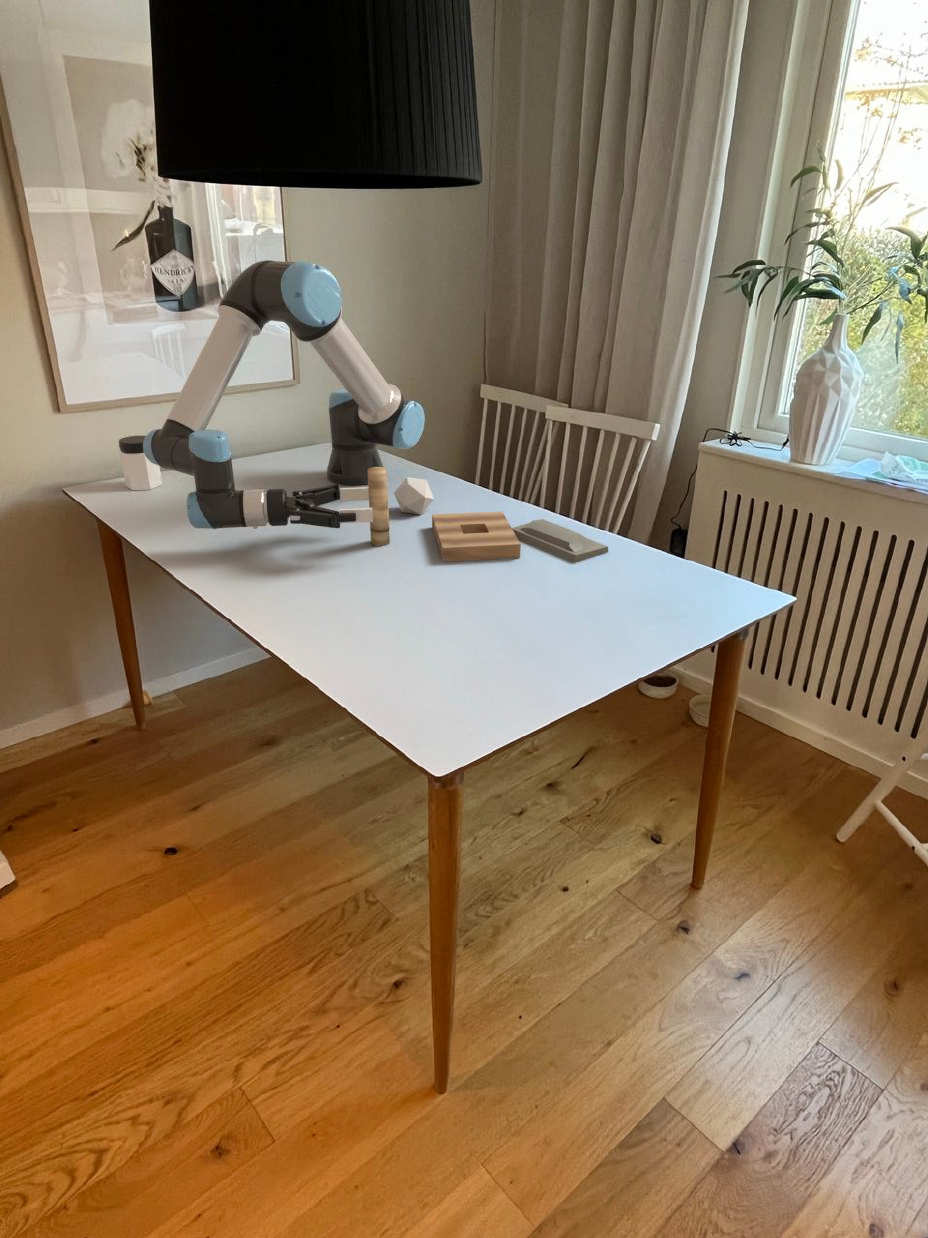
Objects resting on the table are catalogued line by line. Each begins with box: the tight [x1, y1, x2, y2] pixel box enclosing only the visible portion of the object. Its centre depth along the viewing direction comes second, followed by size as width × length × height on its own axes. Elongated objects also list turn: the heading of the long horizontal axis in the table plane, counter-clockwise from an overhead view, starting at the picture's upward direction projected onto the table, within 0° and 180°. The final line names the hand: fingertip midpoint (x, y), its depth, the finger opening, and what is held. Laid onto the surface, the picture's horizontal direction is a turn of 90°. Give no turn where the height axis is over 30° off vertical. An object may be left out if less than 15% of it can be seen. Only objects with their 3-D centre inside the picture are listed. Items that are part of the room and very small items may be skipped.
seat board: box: [431, 511, 522, 563], centre depth 170 cm, size 20×16×3 cm
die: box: [393, 476, 435, 516], centre depth 186 cm, size 8×9×10 cm
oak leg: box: [367, 467, 391, 547], centre depth 166 cm, size 4×4×16 cm
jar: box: [118, 435, 163, 492], centre depth 201 cm, size 9×8×12 cm
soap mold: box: [511, 518, 609, 564], centre depth 170 cm, size 10×20×4 cm, turn 39°
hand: (371, 503), depth 165 cm, fingers open, 13 cm apart
